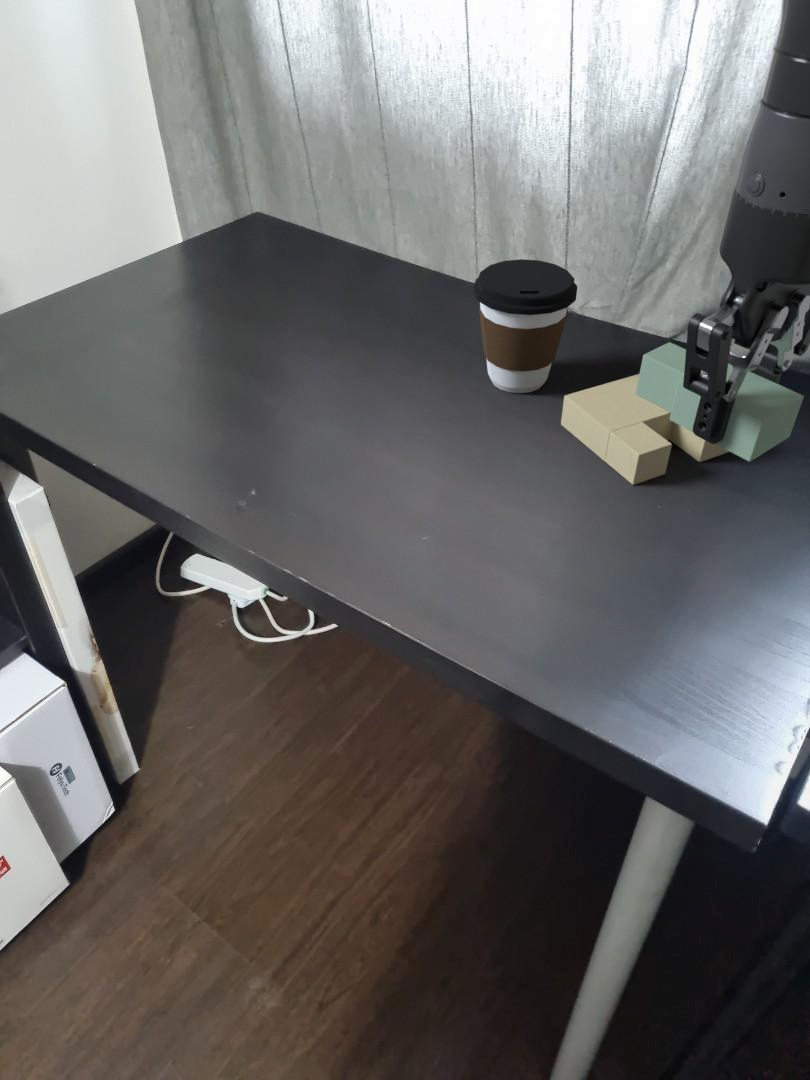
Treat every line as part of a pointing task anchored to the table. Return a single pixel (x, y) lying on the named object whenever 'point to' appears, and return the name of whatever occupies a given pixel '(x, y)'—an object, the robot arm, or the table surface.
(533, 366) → the coffee cup
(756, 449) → the pad
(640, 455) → the notch pad
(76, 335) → the table surface
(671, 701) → the table surface
